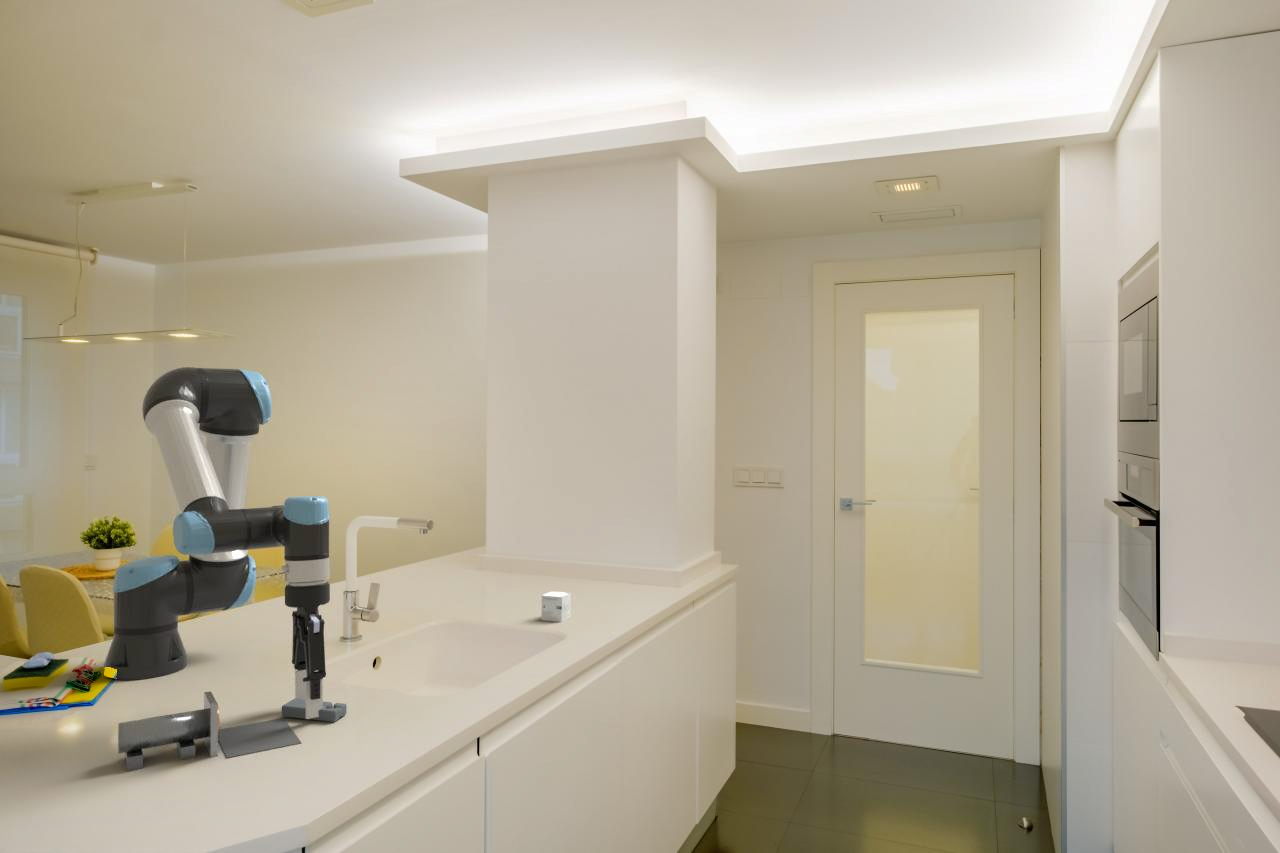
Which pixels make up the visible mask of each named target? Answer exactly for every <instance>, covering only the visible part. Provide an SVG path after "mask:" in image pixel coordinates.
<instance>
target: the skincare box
mask: <svg viewBox="0 0 1280 853" xmlns="http://www.w3.org/2000/svg"><path fill="white" fill-rule="evenodd" d="M571 598H572V593H571V592H564V591H549V592H547V593H544V594H543V593H542V594H541V621H546V622H557V623H563V622H564V621H567V620H568V619H570V618H571V611H572V610H571V604H572V603H571V601H572V599H571Z"/></svg>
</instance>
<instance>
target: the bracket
mask: <svg viewBox="0 0 1280 853" xmlns="http://www.w3.org/2000/svg"><path fill="white" fill-rule="evenodd" d="M318 712H319V717H316V718H310V719H309V720H312V721H321V722H330V723H331V722H332V723H336V722H337V721H338V720H339V719H340V718H342V717H344V716H346V715H347V703H340V702H335V703H334V704H333V703H332V702H331V701H323V709H320V710H319V711H318ZM281 717H282V718H284V717H285V718H295V719H302V720H303V719H304V720H307V719H306V711H305V700H304V699H295V698H292V699H291V700H290V701H288V702H286V703H285V704H283V705H282V706H281Z"/></svg>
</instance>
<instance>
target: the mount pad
mask: <svg viewBox="0 0 1280 853" xmlns="http://www.w3.org/2000/svg"><path fill="white" fill-rule="evenodd" d="M218 744H219V745H220V747H221V749H222V751H223V754H224V755H225V758H226V759H231V758H237V757H241V756H247V755H252V754H257V753H261V752H266V751H270V750H277V749H280V748H286V747H287V748H288V747H291V746H296V745H301V744H302V741H301V739H300V738H299V737H298V736H297V735H296V733H295V731H294V730H293V728H292V727H291V726H290V724H289V723H288V722H287V720H286V719H285V718H284V717H281V718H276V719H269V720H263V721H259V722H254V723H253V722H252V723H248V724H243V725H241V724H240V725H237V726H230V727H226V728H220V729H219V738H218Z"/></svg>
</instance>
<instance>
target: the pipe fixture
mask: <svg viewBox="0 0 1280 853" xmlns="http://www.w3.org/2000/svg"><path fill="white" fill-rule="evenodd" d="M203 696H204V697H203V708H202V709H201V708H200V709H196V710H190V711H189V710H188V711H184V712H178V713H172V714H166V715H158V716H153V717H148V718H141V719H136V720H129V721H124V722H118V725H117V750H118V751H117V752H118V754H123V753H125V754H124V758H125V767H126V771H127V772H130V771H131V772H132V771H135V770H136V771H137V770H140V769H141V770H142V769H143V768H144V754H143V750H145V749H150V748H151V749H152V748H156V747H162V746H168V745H172V744H176V751H177V754H178V757H179V759H180V761H186V760H192V759H196V744H195V741H194V740H200V739H203V742H204V744H205V748H206V749H207V750H206V751H207V752H208V753H209V754H208V755H209V757H210V758H213V757H217V756H218V755H219V754H218V753H219V750H218V749H219V748H218V746H219V741H218V738H219V729H221V726H220V711H219V704H218V702H217V700H216V699H215V697H214V694H213V693H212V691H206V692H204V693H203Z"/></svg>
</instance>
